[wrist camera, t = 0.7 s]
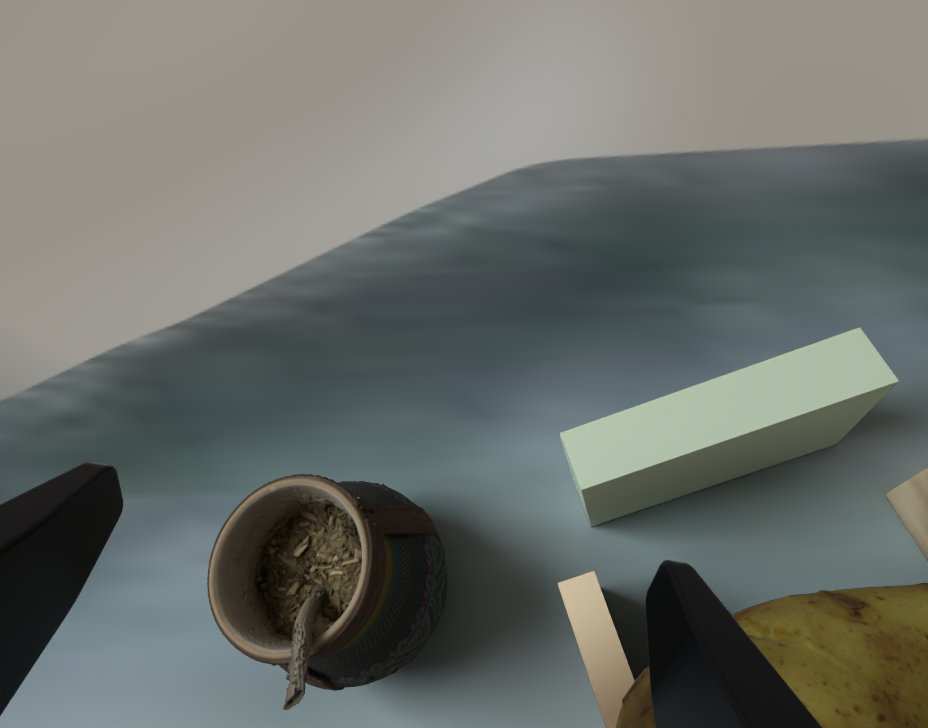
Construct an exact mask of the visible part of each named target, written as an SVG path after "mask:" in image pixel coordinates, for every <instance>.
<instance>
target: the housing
mask: <svg viewBox="0 0 928 728" xmlns="http://www.w3.org/2000/svg"><path fill="white" fill-rule="evenodd" d="M885 495H886V497H887V498H888V500H889V501H890V503H891V504H892V506H893V508H894V509H895V511H896V512H897V514H898V515H899V517H900V518H901V520H902V521H903V523H904V525H905V526H906V528H907V529H908V531H909V532H910V534H911V535H912V537H913V539H914V540H915V542H916V543H917V545H918V546H919V548H920V549H921V551H922V552H923V554H924V556H925V557H926V559H927V560H928V468H926V469H924V470H923V471H921V472H920V473H918V474H917V475H915V476H913V477H912V478H910V479H909V480H907V481H905V482H904V483H902V484H901V485H899V486H898V487H896V488H894V489H893V490H891V491H890V492H888V493H886V494H885ZM558 586H559V589H560V592H561V595H562V598H563V601H564V604H565V607H566V610H567V613H568V616H569V619H570V622H571V625H572V628H573V631H574V634H575V637H576V640H577V643H578V646H579V649H580V652H581V655H582V658H583V661H584V664H585V667H586V670H587V673H588V676H589V679H590V682H591V685H592V688H593V691H594V694H595V697H596V700H597V703H598V706H599V708H600V711H601V714H602V717H603V720H604V723H605V726H606V728H616V724H617V720H618V716H619V712H620V710H621V707H622V699H623V698H624V696H625V695H626V693H627V692H628V690H629V689H630V688H631V686H632V685H633V683H634V682H635V681H634V678H633V675H632V673H631V670H630V667H629V664H628V662H627V659H626V656H625V654H624V651H623V648H622V645H621V643H620V640H619V637H618V635H617V632H616V629H615V626H614V624H613V621H612V618H611V616H610V613H609V610H608V607H607V605H606V602H605V599H604V597H603V594H602V591H601V588H600V586H599V583H598V580H597V578H596V575H595V572H594V571H592V572H589V573H586V574H583V575H580V576H577V577H574V578H571V579H568V580H565V581H562V582H559V583H558Z"/></svg>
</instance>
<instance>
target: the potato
mask: <svg viewBox="0 0 928 728" xmlns="http://www.w3.org/2000/svg"><path fill="white" fill-rule="evenodd" d="M732 616H733V618H734V619H735V620H736V621H737V623H738V624H739V625H740V626H741V628H742V629H743V630H744V631H745V633H746V634H747V635H748V636H749V637H750V639H751V640H752V641H753V642H754V644H755V645H756V646H757V647H758V649H759V650H760V651H761V652H762V653H763V655H764V656H765V657H766V658H767V660H768V661H769V662H770V663H771V665H772V666H773V667H774V668H775V670H776V671H777V672H778V673H779V674H780V676H781V677H782V678H783V679H784V681H785V682H786V683H787V684H788V686H789V687H790V688H791V689H792V691H793V692H794V693H795V694H796V695H797V697H798V698H799V699H800V700H801V702H802V703H803V704H804V705H805V707H806V708H807V709H808V710H809V712H810V713H811V714H812V715H813V716H814V718H815V719H816V720H817V721H818V723H819V724H820V725H821V726H822V728H928V583H921V584H916V585H908V586H885V587H866V588H854V589H844V590H835V591H826V590H823V591H819V592H817V593H812V594H801V595H790V596H788V597H784V598H780V599H775V600H771V601H768V602H765V603H761V604H758V605H755V606H752V607H749V608H747V609H744V610H742V611H740V612H737V613H735V614H734V615H732ZM616 728H656V726H655V720H654V714H653V707H652V700H651V688H650V673H649V666H648V667H647V668H645V669H644V671H643V672H642V673H641V674H640V675H639V676H638V677H637V679H636V680H635V682H634V683H633V685H632V686H631V688H630V689H629V690H628V692H627V693H626V695H625V696H624V698H623V699H622V707H621V710H620V712H619V716H618V720H617V724H616Z"/></svg>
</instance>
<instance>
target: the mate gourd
mask: <svg viewBox="0 0 928 728" xmlns="http://www.w3.org/2000/svg"><path fill="white" fill-rule="evenodd" d="M442 550H443V549H442V546H441V540H440V536H439V534H438V532H437V531H436V529H435V527H434V524H433V522H432V521H431V519H430V517H429V516H428V515H427V514H426V512H425V511H424V510H423V509H422V508H420V507H418V506H417V505H415V504H414V503H413V502H411V501H410V500H409V499H407V497H405V496H403V495H402V494H400V493H399V492H397V491H395V490H393V489H391V488H388V487H387V486H385V485H384V484H383V485H380V484H379V483H369V482H364V481H360V482H356V481H354V482H352V481H348V482H345V481H342V482H339V483H337V482H335V481H334V480H331V479H328V478H326V477H321V476H319V475H316V476H314V475H312V474H309V475H305V474H299V475H292V476H286V477H283V478H279V479H276V480H274V481H271V482H268V483H267V484H265V485H263V486H261V487H260V488H258V489H256V490H255V491H254V492H252V493H251V494H250V495H248V496H247V497H246V498H245V499H244V500H243V501H242V502H241V503H240V504H239V505H238V506H237V507H236V509H235V510H234V511H233V512H232V513H231V515H230V516H229V517H228V519H227V520H226V522H225V524H224V525H223V527H222V528H221V530H220V532H219V534H218V536H217V539H216V541H215V544H214V547H213V550H212V553H211V557H210V562H209V569H208V579H207V581H208V583H207V584H208V597H209V602H210V606H211V610H212V613H213V616H214V619H215V621H216V623H217V625H218V627H219V629H220V630H221V632H222V634H223V635H224V636H225V637H226V639H227V640H228V641H229V642H230V643H231V644H232V645H233V646H234V647H235V648H236V649H238V650H239V651H240V652H242V653H243V654H245V655H246V656H248V657H250V658H252V659H254V660H256V661H259V662H263V663H267V664H272V665H273V666H274V665H279V666H280V667H281V668H283V669H284V670H285V671H286V672H288V674H287V677H286V679H287V680H289V681H290V684H289V686H288V688H287V689H288V690H287V689H286V690H287V695H286V700H285V705H284V708H283V709H284V710H289V709H290V708H291V707H293V706H295V705H296V704H297V703H299V702H300V700H301V699H302V698H303V696H304V694H305V682H306V683H307V684H309V685H312V686H315V687H318V688H322V689H330V690H335V691H336V690H342V689H344V688H345V687H356V686H361V685H366V684H369V683H371V682H374V681H377V680H380V679H382V678H385V677H386V676H388V675H391V674H393V673H395V672H396V671H398V669H399V668H401V667H402V666H404V665H405V664H406V663H407V662H409V661H410V660H412V659H413V658H414V656H415V655H416V653H417V652H418V651H419V650H420V649H421V648H422V646H423V645H424V644H425V643H426V641H427V640H428V638H429V637H430V635H431V634H432V632H433V629H434V627H435V626H436V624H437V622H438V619H439V617H440V614H441V611H442V608H443V605H444V600H445V598H446V588H447V587H446V586H447V574H446V568H445V561H444V559H445V558H444V552H443V551H444V550H443V551H442Z"/></svg>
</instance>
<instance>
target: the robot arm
mask: <svg viewBox="0 0 928 728" xmlns="http://www.w3.org/2000/svg"><path fill="white" fill-rule="evenodd" d="M122 509H123V498H122V493H121V488H120V484H119V479H118V475H117V471H116V469H115V468H114V467H113V466H111V465H107V464H101V463H95V462H86V463H83V464H81V465H79V466H76V467H74V468H72V469H70V470H68V471H66V472H64V473H62V474H60V475H58V476H56V477H54V478H52V479H50V480H48V481H46V482H44V483H42V484H40V485H38V486H36V487H34V488H32V489H30V490H28V491H26V492H24V493H22V494H20V495H18V496H16V497H14V498H12V499H10V500H8V501H6V502H4V503H2V504H0V716H1V714H2V713H3V711H4V710H5V708H6V707H7V705H8V703H9V702H10V700H11V699H12V697H13V696H14V694H15V693H16V691H17V690H18V688H19V687H20V685H21V684H22V682H23V681H24V679H25V678H26V676H27V675H28V673H29V672H30V670H31V669H32V667H33V666H34V664H35V663H36V661H37V659H38V658H39V656H40V655H41V653H42V652H43V650H44V649H45V647H46V646H47V644H48V643H49V641H50V640H51V638H52V637H53V635H54V634H55V632H56V631H57V629H58V628H59V626H60V625H61V623H62V622H63V620H64V619H65V617H66V615H67V614H68V612H69V611H70V609H71V607H72V606H73V604H74V603H75V601H76V599H77V597H78V596H79V594H80V592H81V590H82V588H83V587H84V585H85V583H86V581H87V579H88V577H89V575H90V573H91V571H92V569H93V567H94V565H95V564H96V562H97V560H98V558H99V556H100V554H101V552H102V550H103V548H104V546H105V544H106V542H107V541H108V539H109V537H110V535H111V533H112V531H113V529H114V527H115V525H116V523H117V521H118V519H119V517H120V515H121V513H122ZM646 623H647V639H648V656H649V673H650V688H651V700H652V707H653V714H654V720H655V726H656V728H822V726H821V725H820V724H819V723H818V721H817V720H816V719H815V718H814V716H813V715H812V714H811V713H810V712H809V710H808V709H807V708H806V707H805V705H804V704H803V703H802V702H801V700H800V699H799V698H798V697H797V695H796V694H795V693H794V692H793V691H792V689H791V688H790V687H789V686H788V684H787V683H786V682H785V681H784V679H783V678H782V677H781V676H780V674H779V673H778V672H777V671H776V670H775V668H774V667H773V666H772V665H771V663H770V662H769V661H768V660H767V658H766V657H765V656H764V655H763V653H762V652H761V651H760V650H759V649H758V647H757V646H756V645H755V644H754V642H753V641H752V640H751V639H750V637H749V636H748V635H747V634H746V633H745V631H744V630H743V629H742V628H741V626H740V625H739V624H738V623H737V621H736V620H735V619H734V618H733V616H732V615H731V614H730V613H729V612H728V610H727V609H726V608H725V607H724V605H723V604H722V603H721V602H720V600H719V599H718V598H717V597H716V595H715V594H714V593H713V592H712V591H711V589H710V588H709V587H708V586H707V584H706V583H705V582H704V581H703V579H702V578H701V577H700V576H699V574H698V573H697V572H696V571H695V570H694V568H693V567H692V566H690V565H689V564H687V563H682V562H676V561H670V560H665V561H663V562H662V563H661V565H660V567H659V569H658V571H657V573H656V575H655V577H654V579H653V581H652V583H651V585H650V587H649V589H648V591H647V595H646Z"/></svg>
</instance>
